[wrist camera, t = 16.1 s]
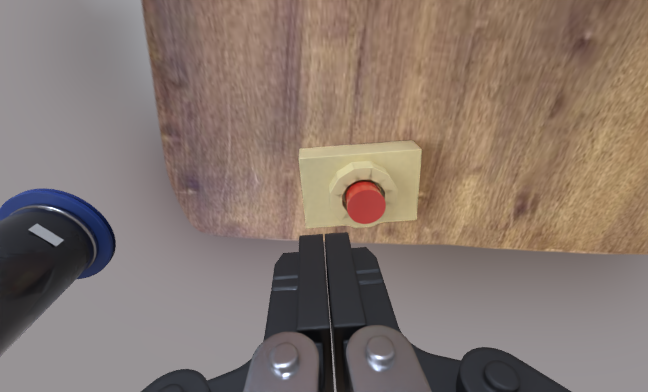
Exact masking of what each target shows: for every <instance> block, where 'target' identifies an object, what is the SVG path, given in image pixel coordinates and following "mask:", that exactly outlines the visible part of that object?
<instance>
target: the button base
mask: <svg viewBox="0 0 648 392" xmlns="http://www.w3.org/2000/svg"><path fill="white" fill-rule="evenodd" d="M421 157H422V149H421V148H420V147H419V146H418V145H417V144H416V143H415V142H414V141H413V140H408V141H394V142H381V143H368V144H354V145H341V146H328V147H314V148H301V149H299V169H300V178H301V188H302V197H303V206H304V216H305V225H306V229H307V228H320V227H333V226H346V225H349V226H351V227H354V228H364V227H373V226H375V225H376V224H378V223H385V222H398V221H411V220H416V219H417V207H418V195H419V182H420V170H421ZM360 181H369V182H372V183H374V184H376V185H377V186H378V187H379V189H380V191H381V193H382V195H383V197H384V199H385V202H386V209H385V212H384V214H383V215H382V217H381V218H380V219H378V220H377V221H375V222H373V223H369V224H360V223H357V222H355V221H354V220H352V219H351V218H350V216H349V215H348V212H347V207H346V203H345V194H346V192H347V190H348V189H349V187H350V186H352V185H353V184H355V183H357V182H360Z"/></svg>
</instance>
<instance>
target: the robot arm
mask: <svg viewBox="0 0 648 392" xmlns="http://www.w3.org/2000/svg"><path fill="white" fill-rule="evenodd" d="M325 249H326V266H327V282H328V294H327V283H326V270H325V257H324V244H323V234H317V235H303V236H300V237H299V252H293V253H283V254H282V256H281V257H280V258H279V260H278V261H277V262H276V264H275V268H274V275H273V282H272V288H271V289H272V292H271V295H270V303H269V309H268V316H267V323H266V330H265V336H264V341H263V343H261V344H260V345H259V347H258V348H257V349H256V351H255V353H254V354H253V357H252V359H251V360H249V361H248V362H247V363H246V364H244V365H243V366H241V367H239V368H238V369H236V370H233V371H231V372H228V373H226V374H223V375H221V376H218V377H216V378H213V379H210V380H208V381H207V380H206V378H205V377H204V376H203V375H202V374H201V373H199V372H197V371H194V370H189V369H181V370H176V371H173V372H170V373H167V374H165V375H163V376H161V377H160V378H158V379H156V380H155V381H154V382H152V383H151V384H150V385H149V386H147V387H146V388H145V389H144V390H143V391H141V392H334V384H333V368H332V351H331V333H330V319H331V331H332V343H333V354H334V366H335V378H336V389H337V392H571V391H569V390H568V389H566V388H565V387H563V386H561V385H560V384H558V383H557V382H555V381H553V380H552V379H550V378H548V377H547V376H545V375H544V374H542V373H540V372H539V371H537V370H536V369H534V368H532V367H531V366H529V365H527V364H526V363H524V362H523V361H521V360H519V359H517V358H516V357H514V356H513V355H511V354H509V353H506V352H504V351H502V350H498V349H494V348H487V347H482V348H476V349H473V350H471V351H469V352H467V353H466V354H465V355H464V357H463V359H462V360H461V361H460V360H455V359H451V358H447V357H442V356H438V355H434V354H430V353H427V352H425V351H423V350H421V349H419V348H417V347H416V346H414V345H413V344H411V343H410V342H409V341H408V339H407V338H406V337H405V336H404V335H403V334H402V333H401V331H400V329H399V327H398V324H397V321H396V318H395V315H394V311H393V308H392V305H391V302H390V299H389V296H388V293H387V289H386V286H385V283H384V280H383V277H382V274H381V272H380V268H379V265H378V261H377V258H376V257H375V256H374V255H373V254H372V253H371V252H370V251H369V250H368V249H367V248H366V247H363V248H351V245H350V240H349V235H348V232H345V233H330V234H325ZM98 253H99V244H98V240H97V238H96V235H95V234H94V232H93V230H92V229H91V228H90V227H89V225H88V224H87V223H86V222H85V221H83V220H82V219H81V218H80V217H78V216H77V215H75V214H74V213H72V212H70V211H68V210H66V209H64V208H61V207H58V206H55V205H50V204H40V203H39V204H30V205H26V206H23V207H21V208H19V209H17V210H16V211H14V212H12V213H11V214H10V215H9V216H8V217H6V218H4V219H2V220H1V221H0V356H1V355H2V354H3V353H4V352H5V351H7V349H8V348H9V347H10V346H11V345H12V344H13V343H14V342H15V341H16V340H17V339H18V338H19V337H20V336H21V335H22V334H23V333H24V332H25V331H26V330H27V329H28V328H29V327H30V326H31V325H32V324H33V323H34V322H35V321H36V320H37V319H38V318H39V317H40V316H41V315H42V314H43V313H44V312H45V310H46V309H47V308H48V307H49V306H50V305H51V304H52V303H53V302H54V301H55V300H56V299H57V298H58V297H59V296H60V295H61V294H62V293H63V292H64V291H65V290H66V289H67V288H68V287H69V286H70V285H71V284H72V283H73V282H74V281H75V280H76V279H77V278H78V277H79V276H80V275H81V274H82V273H83V272H84V271H85V270H86V269H88V268H89V267H90V266H91V265H92V264H93V263H94V261H95V260H96V258H97V256H98ZM328 295H329V306H330V319H329V307H328Z"/></svg>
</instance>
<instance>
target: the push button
mask: <svg viewBox="0 0 648 392" xmlns="http://www.w3.org/2000/svg"><path fill="white" fill-rule="evenodd" d="M345 203H346V207H347V212H348V215H349V216H350V218H351V219H352V220H354V221H355V222H357V223H360V224H369V223H373V222H375V221H377V220H378V219H380V218H381V217H382V215H383V214H384V212H385V209H386V202H385V199H384V197H383V195H382V193H381V191H380V189H379V187H378V186H377V185H376V184H374V183H372V182H369V181H360V182H357V183H355V184H353V185H352V186H350V187H349V189H348V190H347V192H346V194H345Z"/></svg>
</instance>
